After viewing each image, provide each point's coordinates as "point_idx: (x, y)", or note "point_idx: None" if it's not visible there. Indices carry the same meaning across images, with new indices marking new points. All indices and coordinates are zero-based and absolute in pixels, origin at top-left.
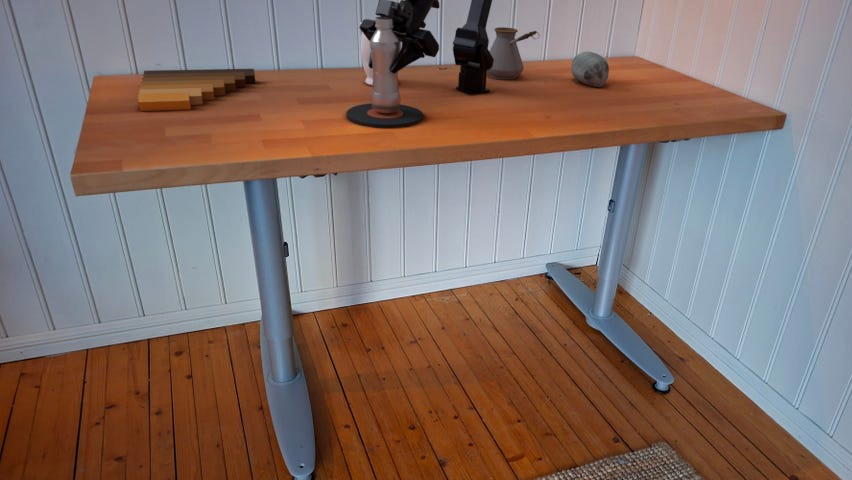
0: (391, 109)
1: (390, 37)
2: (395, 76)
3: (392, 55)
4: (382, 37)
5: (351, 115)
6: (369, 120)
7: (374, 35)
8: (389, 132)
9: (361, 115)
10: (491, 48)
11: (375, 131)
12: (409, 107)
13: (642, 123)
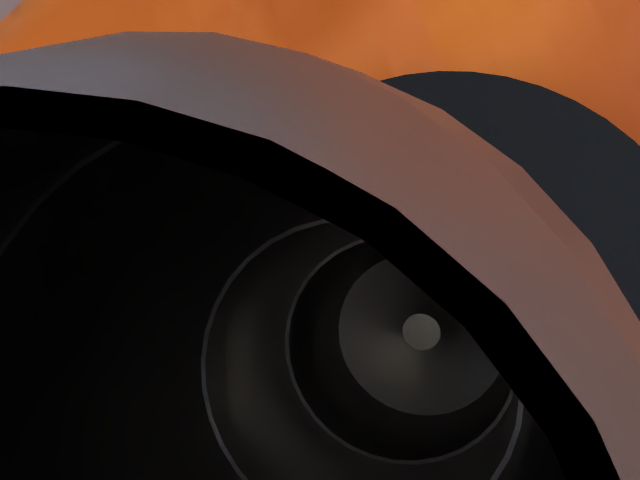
0: (347, 260)
1: None
2: (238, 316)
3: (88, 237)
4: None
5: (626, 170)
6: (458, 120)
7: (348, 220)
8: (301, 44)
9: (556, 201)
10: None
11: (376, 20)
12: None
13: None
